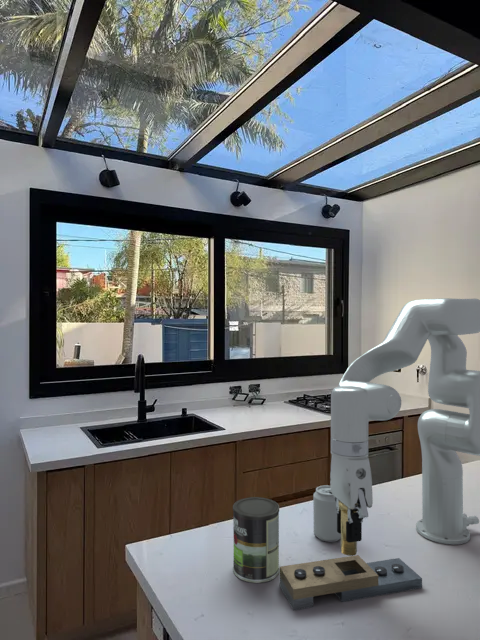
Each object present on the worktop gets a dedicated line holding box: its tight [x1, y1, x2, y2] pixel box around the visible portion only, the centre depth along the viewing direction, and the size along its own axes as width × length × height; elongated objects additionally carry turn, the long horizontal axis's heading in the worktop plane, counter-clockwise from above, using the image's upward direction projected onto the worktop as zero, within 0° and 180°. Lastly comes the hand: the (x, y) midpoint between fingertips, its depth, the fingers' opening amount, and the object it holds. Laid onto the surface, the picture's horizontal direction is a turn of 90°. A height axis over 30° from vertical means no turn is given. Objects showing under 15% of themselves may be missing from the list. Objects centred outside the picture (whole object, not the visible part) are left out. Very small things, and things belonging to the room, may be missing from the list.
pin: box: [338, 500, 358, 556], centre depth 91 cm, size 4×4×10 cm
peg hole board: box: [279, 554, 423, 611], centre depth 91 cm, size 28×8×5 cm, turn 104°
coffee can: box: [232, 496, 280, 584], centre depth 98 cm, size 10×10×14 cm
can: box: [312, 484, 341, 543], centre depth 113 cm, size 8×8×12 cm
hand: (349, 535), depth 91 cm, fingers closed on pin, 3 cm apart
